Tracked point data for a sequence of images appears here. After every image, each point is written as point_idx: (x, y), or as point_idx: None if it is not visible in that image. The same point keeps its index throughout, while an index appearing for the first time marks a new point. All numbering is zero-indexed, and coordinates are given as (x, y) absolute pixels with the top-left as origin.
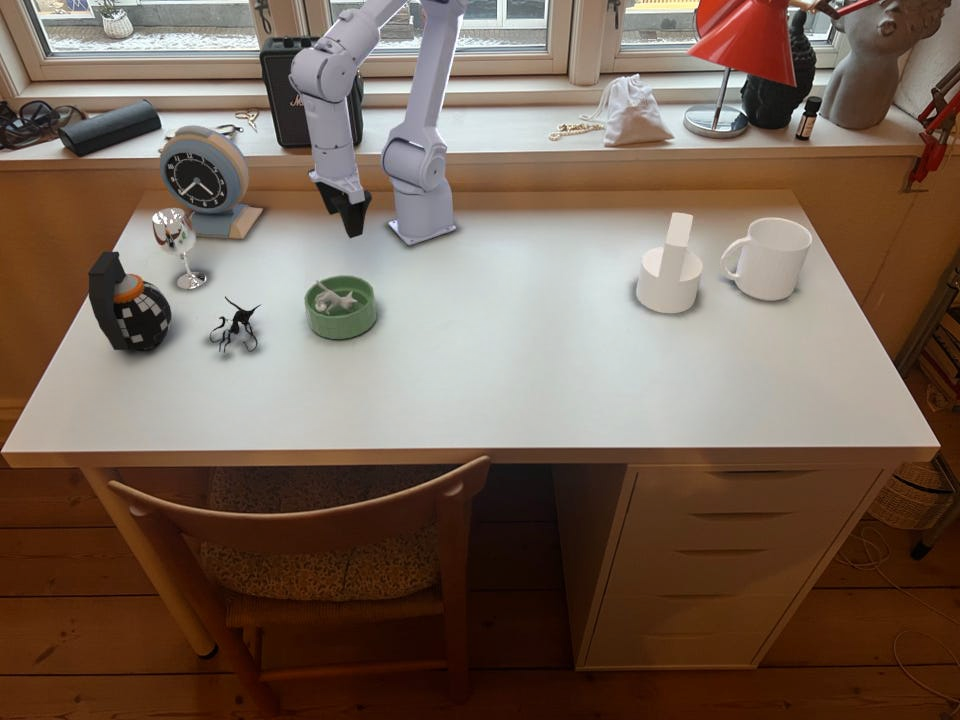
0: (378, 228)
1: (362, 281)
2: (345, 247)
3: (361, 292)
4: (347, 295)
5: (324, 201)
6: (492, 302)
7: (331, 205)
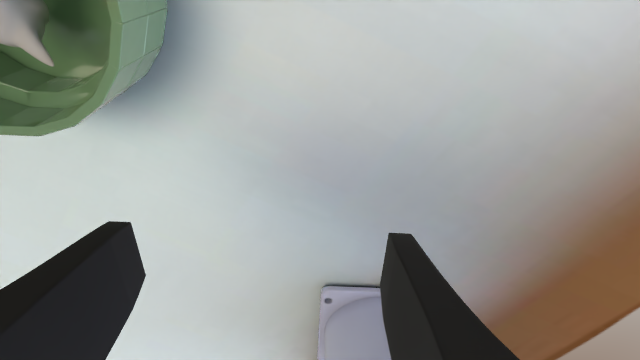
0: (450, 266)
1: (53, 121)
2: (435, 163)
3: (80, 93)
4: (25, 34)
5: (418, 289)
6: None
7: (398, 287)
